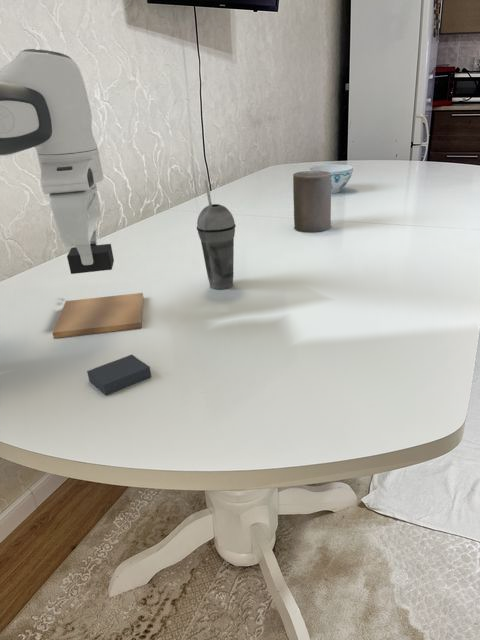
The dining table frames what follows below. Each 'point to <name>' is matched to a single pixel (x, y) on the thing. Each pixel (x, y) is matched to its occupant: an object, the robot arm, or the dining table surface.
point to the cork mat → (100, 315)
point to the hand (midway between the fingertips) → (90, 258)
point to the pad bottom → (101, 259)
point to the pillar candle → (312, 201)
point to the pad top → (119, 374)
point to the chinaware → (336, 175)
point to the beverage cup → (217, 243)
